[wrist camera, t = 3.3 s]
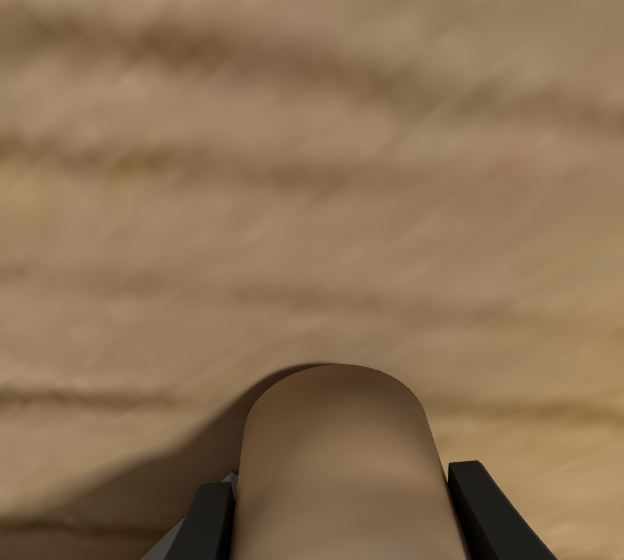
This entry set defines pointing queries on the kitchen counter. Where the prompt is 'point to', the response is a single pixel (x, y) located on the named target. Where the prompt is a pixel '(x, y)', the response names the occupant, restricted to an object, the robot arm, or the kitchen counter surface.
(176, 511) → the kitchen counter surface
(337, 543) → the walnut cylinder
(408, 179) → the kitchen counter surface
